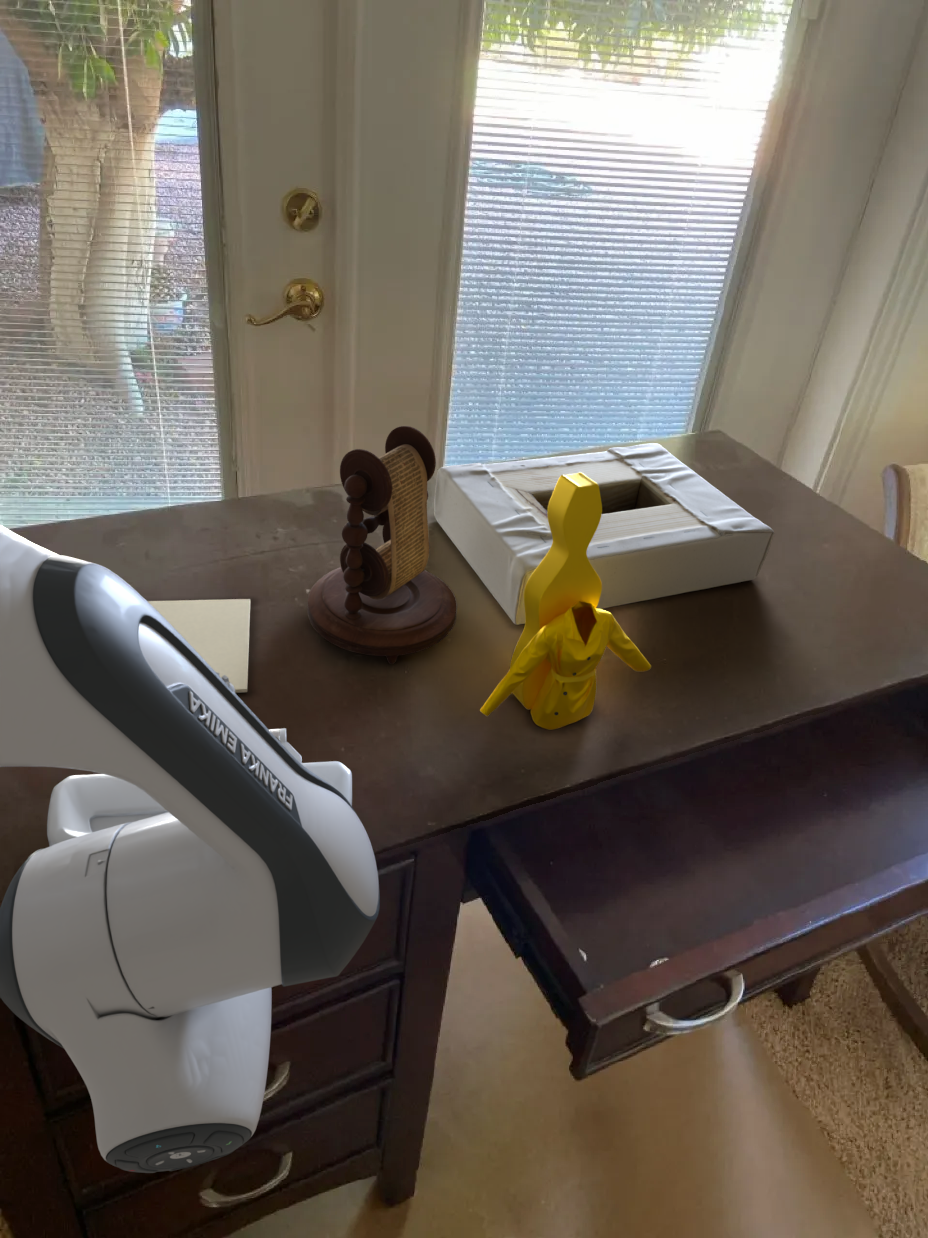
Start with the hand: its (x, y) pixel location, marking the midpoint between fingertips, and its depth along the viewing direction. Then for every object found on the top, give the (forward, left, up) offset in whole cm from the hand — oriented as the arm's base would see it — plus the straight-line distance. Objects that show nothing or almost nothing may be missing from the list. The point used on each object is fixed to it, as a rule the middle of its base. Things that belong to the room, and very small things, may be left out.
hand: (213, 737), depth 67 cm
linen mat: (-5, +18, -5) cm, 19 cm away
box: (+41, +34, -5) cm, 54 cm away
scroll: (+15, +21, -5) cm, 26 cm away
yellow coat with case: (+29, +8, -5) cm, 31 cm away
